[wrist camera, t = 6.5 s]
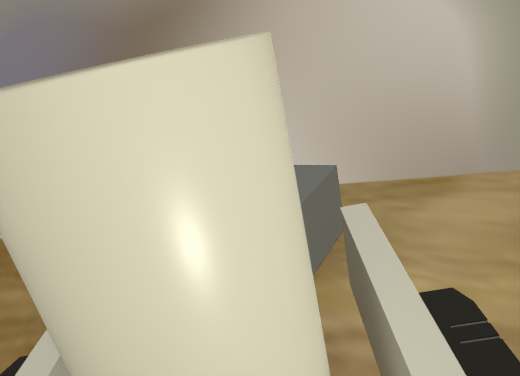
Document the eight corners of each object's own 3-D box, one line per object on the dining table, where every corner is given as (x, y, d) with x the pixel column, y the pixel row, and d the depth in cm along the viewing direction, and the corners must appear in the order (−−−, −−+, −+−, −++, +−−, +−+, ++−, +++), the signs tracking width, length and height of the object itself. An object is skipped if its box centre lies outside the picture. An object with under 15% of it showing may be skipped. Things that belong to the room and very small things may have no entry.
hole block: (36, 302, 29) (6, 242, 27) (167, 211, 40) (152, 164, 38) (247, 373, 19) (223, 287, 17) (344, 227, 30) (336, 165, 28)
